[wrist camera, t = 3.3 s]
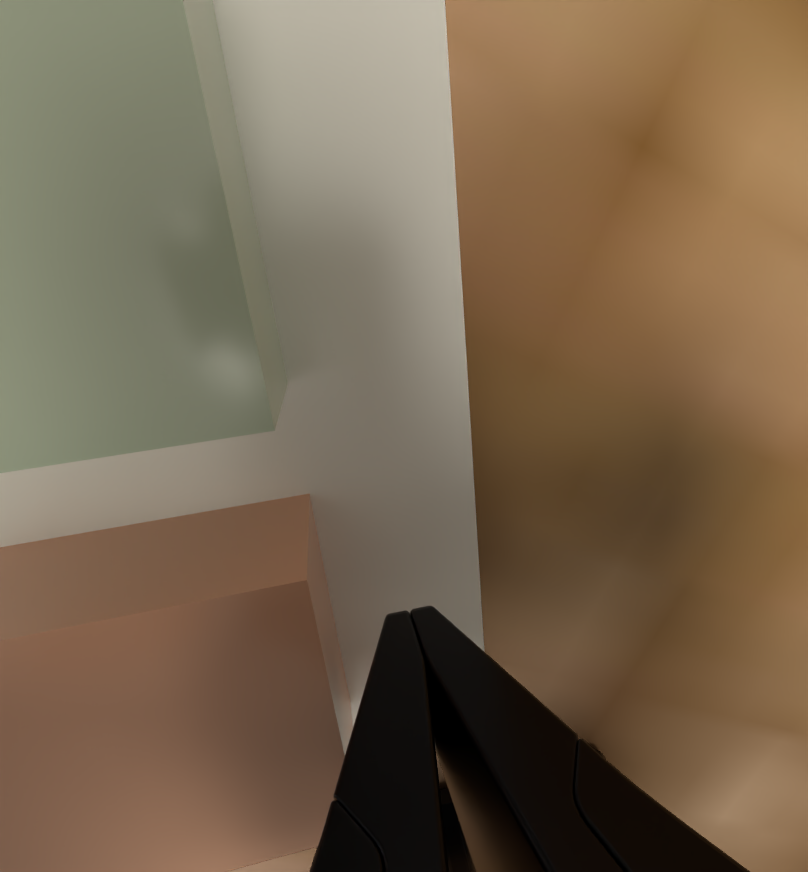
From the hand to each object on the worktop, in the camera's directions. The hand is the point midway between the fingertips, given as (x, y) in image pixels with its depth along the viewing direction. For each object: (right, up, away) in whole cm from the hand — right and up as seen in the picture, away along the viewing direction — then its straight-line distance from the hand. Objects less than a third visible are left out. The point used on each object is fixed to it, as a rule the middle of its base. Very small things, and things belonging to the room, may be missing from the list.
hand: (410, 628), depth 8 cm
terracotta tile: (-4, 0, 0) cm, 4 cm away
